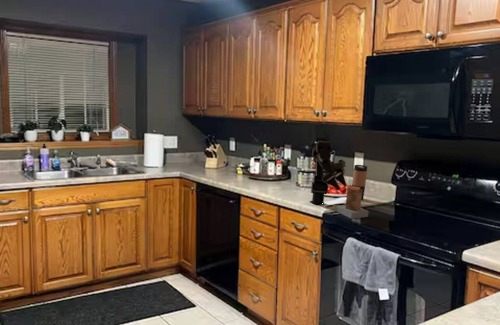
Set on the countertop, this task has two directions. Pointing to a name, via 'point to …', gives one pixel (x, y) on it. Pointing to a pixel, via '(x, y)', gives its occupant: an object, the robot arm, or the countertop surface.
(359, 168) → the travel mug
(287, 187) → the countertop surface
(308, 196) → the countertop surface
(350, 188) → the cargo block
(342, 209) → the dock
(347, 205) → the brown cylinder
